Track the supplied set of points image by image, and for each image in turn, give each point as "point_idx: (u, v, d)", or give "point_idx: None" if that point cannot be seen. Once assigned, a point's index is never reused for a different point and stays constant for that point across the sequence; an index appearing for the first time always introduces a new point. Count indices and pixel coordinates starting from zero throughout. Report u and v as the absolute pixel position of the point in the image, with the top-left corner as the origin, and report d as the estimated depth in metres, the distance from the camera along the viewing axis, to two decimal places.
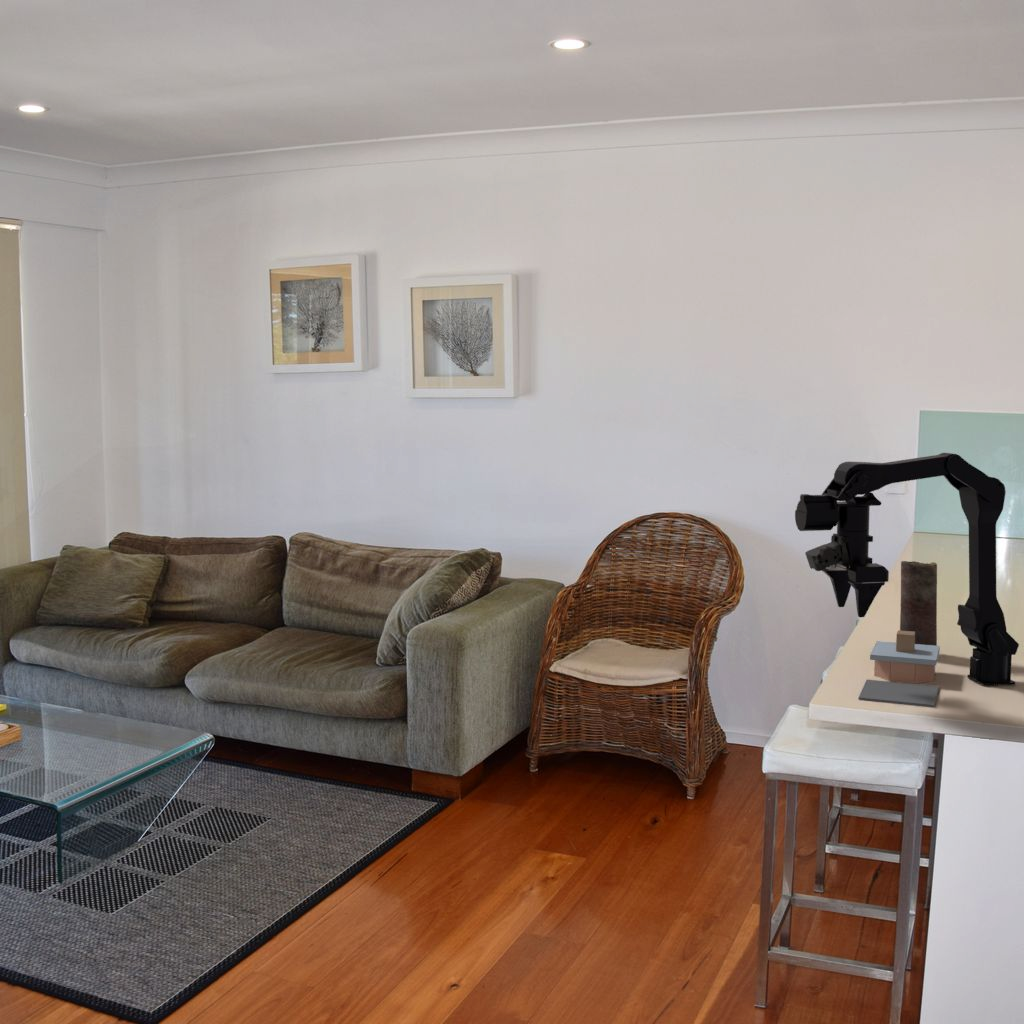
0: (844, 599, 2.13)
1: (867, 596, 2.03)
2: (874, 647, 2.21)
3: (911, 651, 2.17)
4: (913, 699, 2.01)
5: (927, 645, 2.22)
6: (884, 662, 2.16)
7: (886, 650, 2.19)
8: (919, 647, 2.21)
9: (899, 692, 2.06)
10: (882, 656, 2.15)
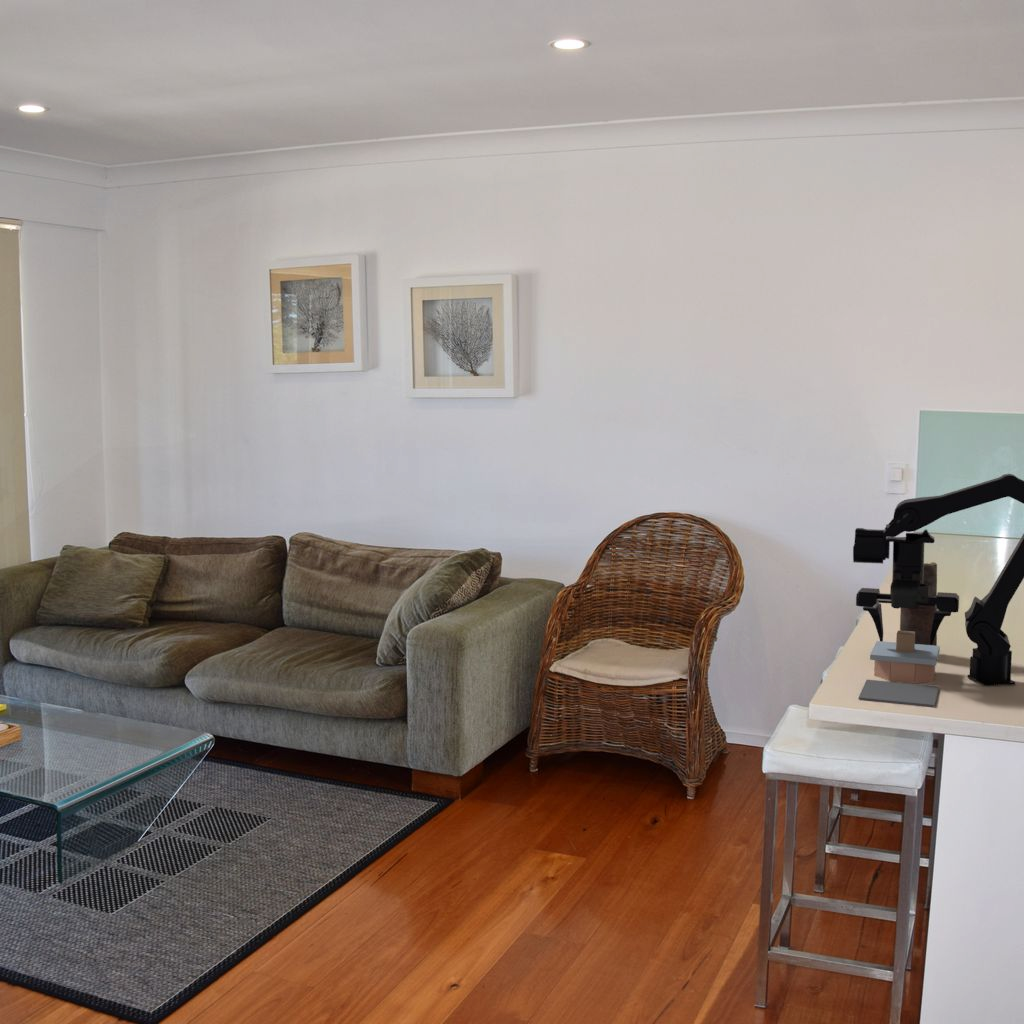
0: None
1: None
2: (874, 647, 2.21)
3: (911, 651, 2.17)
4: (913, 699, 2.01)
5: (927, 645, 2.22)
6: (884, 662, 2.16)
7: (886, 650, 2.19)
8: (919, 647, 2.21)
9: (899, 692, 2.06)
10: (882, 656, 2.15)
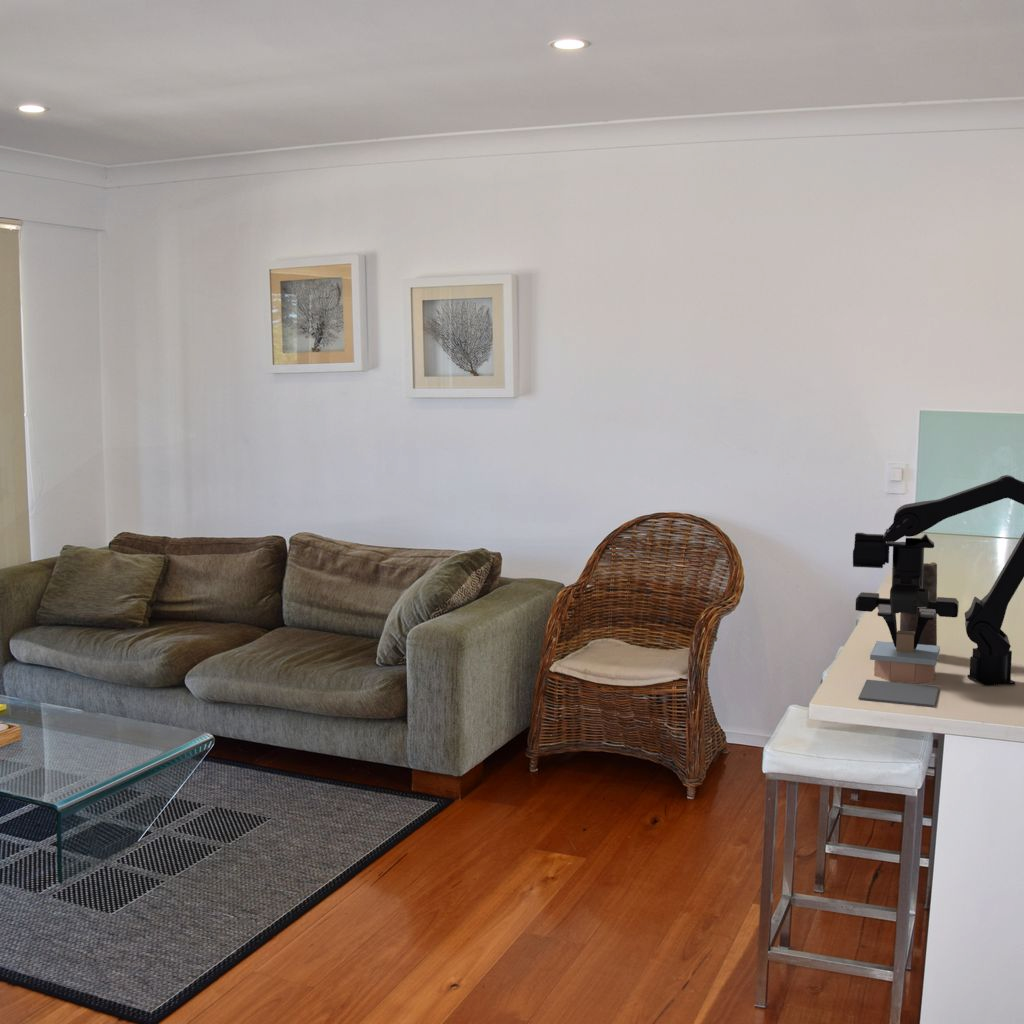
0: None
1: None
2: (874, 647, 2.21)
3: (911, 651, 2.17)
4: (913, 699, 2.01)
5: (927, 645, 2.22)
6: (884, 662, 2.16)
7: (886, 650, 2.19)
8: (919, 647, 2.21)
9: (899, 692, 2.06)
10: (882, 656, 2.15)
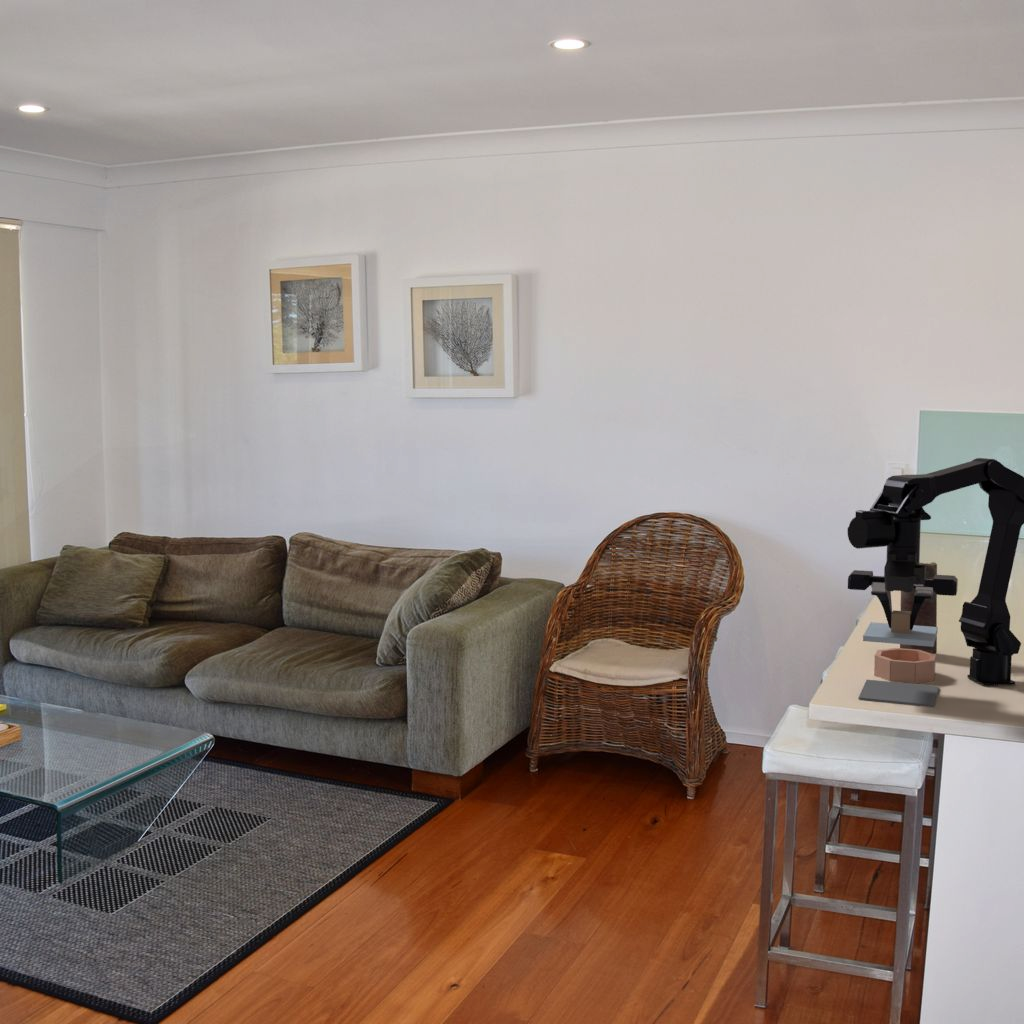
0: None
1: None
2: (868, 628, 2.08)
3: (907, 632, 2.03)
4: (913, 699, 2.01)
5: (924, 626, 2.09)
6: (884, 662, 2.16)
7: (880, 631, 2.05)
8: (916, 628, 2.07)
9: (899, 692, 2.06)
10: (876, 637, 2.01)
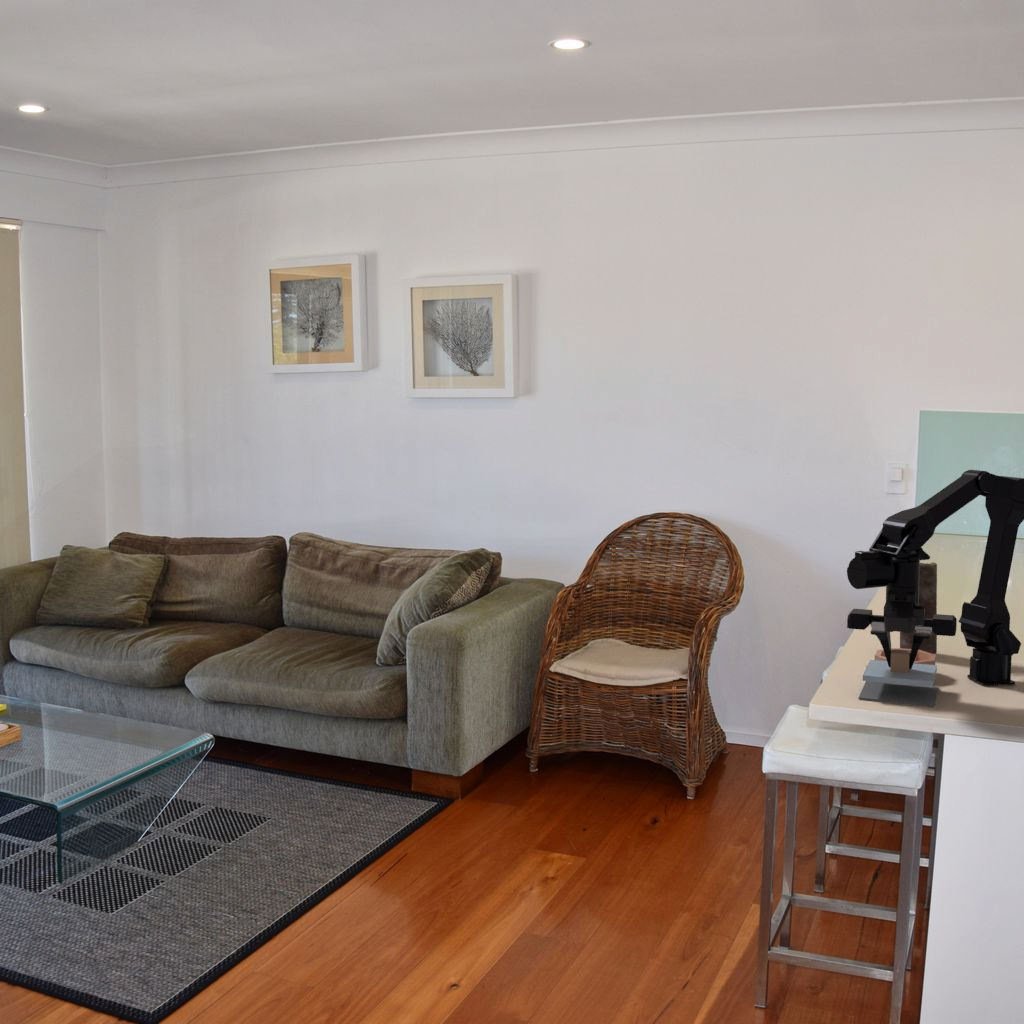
0: None
1: None
2: (867, 667, 2.08)
3: (906, 671, 2.04)
4: (913, 699, 2.01)
5: (923, 664, 2.09)
6: None
7: (880, 670, 2.06)
8: (915, 667, 2.08)
9: (899, 692, 2.06)
10: (875, 677, 2.02)
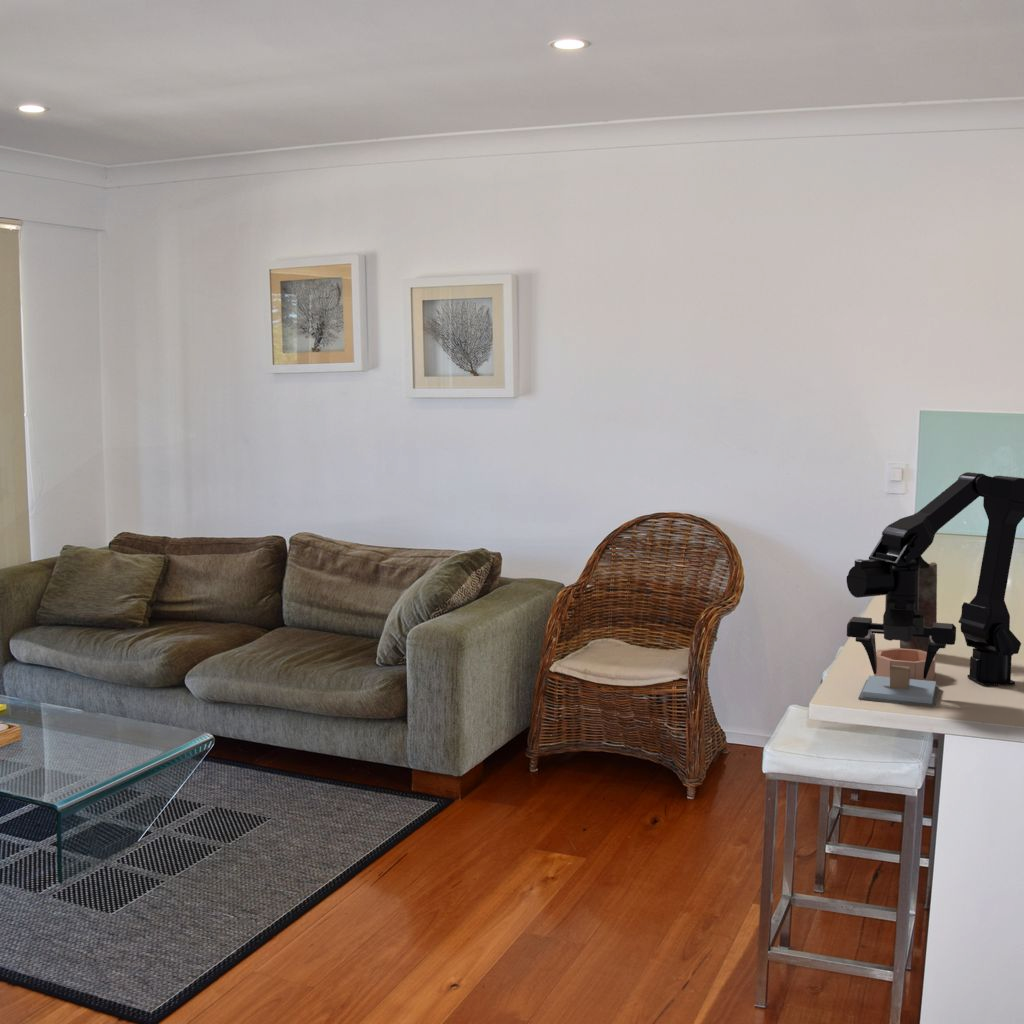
0: (876, 665, 2.08)
1: None
2: (866, 683, 2.09)
3: (906, 688, 2.04)
4: None
5: (923, 680, 2.10)
6: (884, 662, 2.16)
7: (879, 686, 2.06)
8: (914, 683, 2.08)
9: None
10: (875, 693, 2.02)
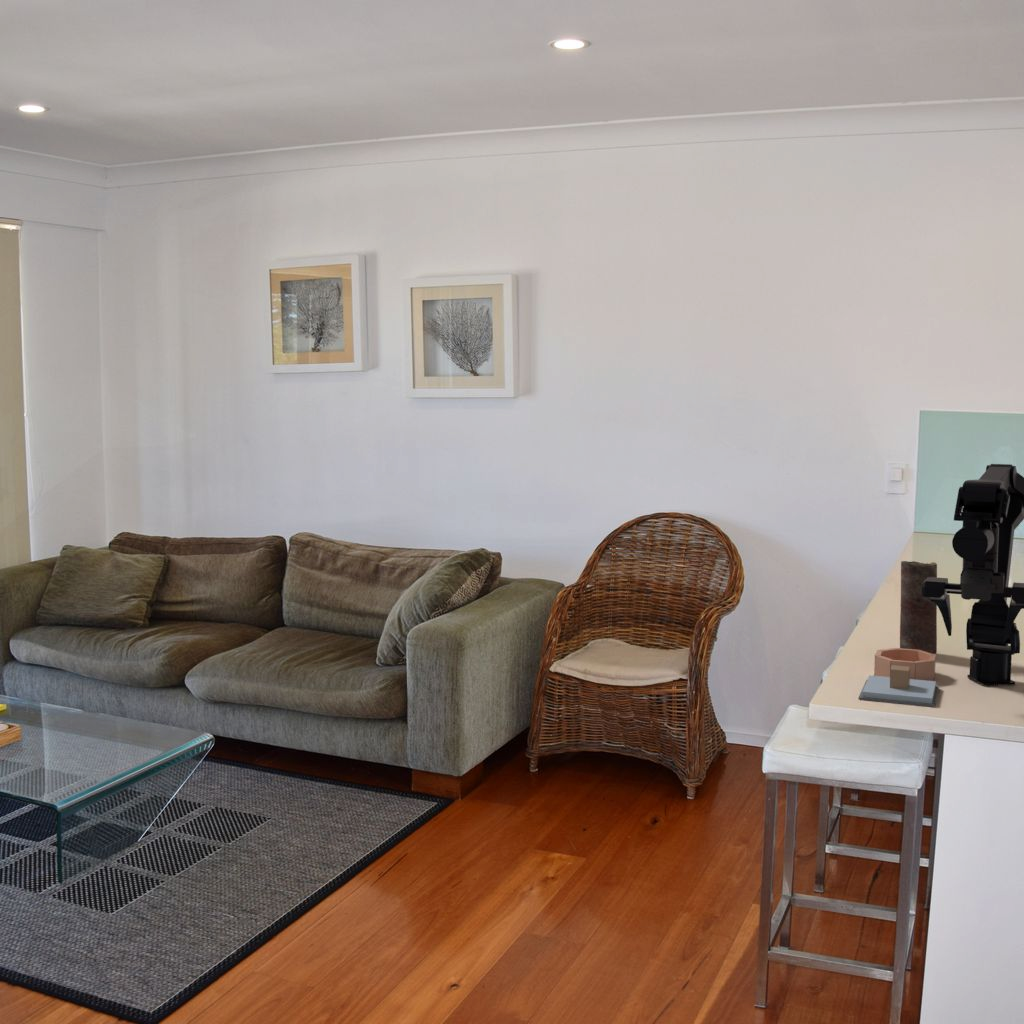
0: (951, 627, 2.01)
1: None
2: (866, 683, 2.09)
3: (906, 688, 2.04)
4: None
5: (923, 680, 2.10)
6: (884, 662, 2.16)
7: (879, 686, 2.06)
8: (914, 683, 2.08)
9: None
10: (875, 693, 2.02)
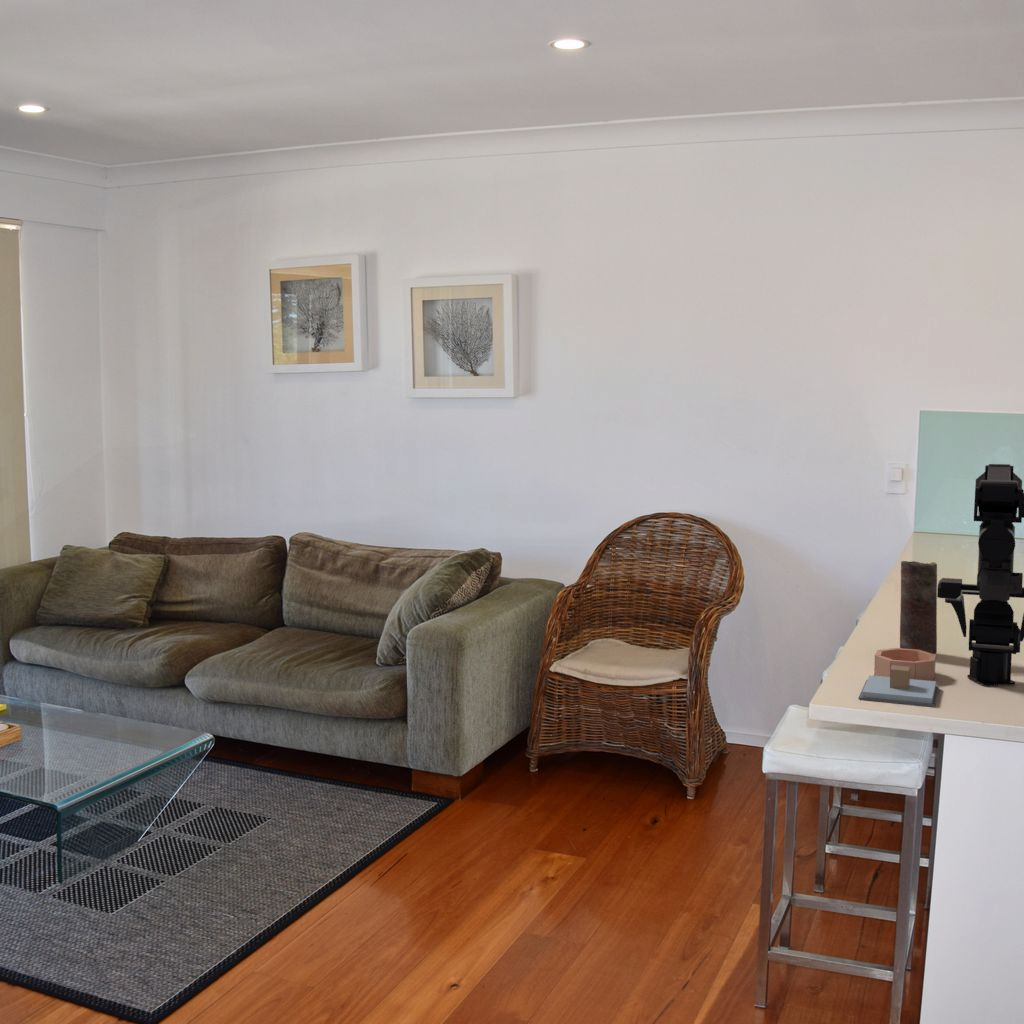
0: (966, 628, 2.00)
1: None
2: (866, 683, 2.09)
3: (906, 688, 2.04)
4: None
5: (923, 680, 2.10)
6: (884, 662, 2.16)
7: (879, 686, 2.06)
8: (914, 683, 2.08)
9: None
10: (875, 693, 2.02)
